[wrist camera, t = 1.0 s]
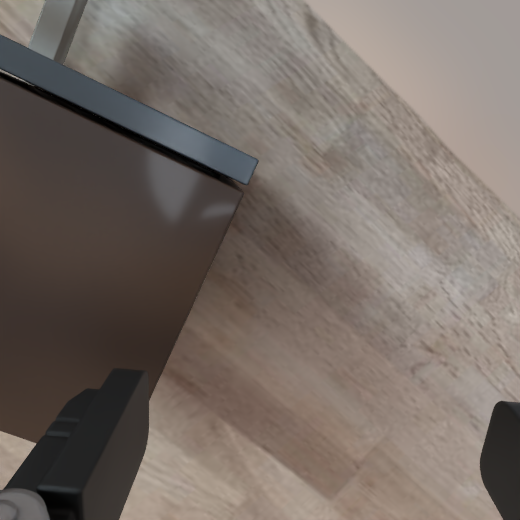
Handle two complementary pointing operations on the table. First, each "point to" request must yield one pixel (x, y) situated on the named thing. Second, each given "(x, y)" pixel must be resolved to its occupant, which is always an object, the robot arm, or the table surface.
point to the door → (109, 92)
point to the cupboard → (93, 252)
